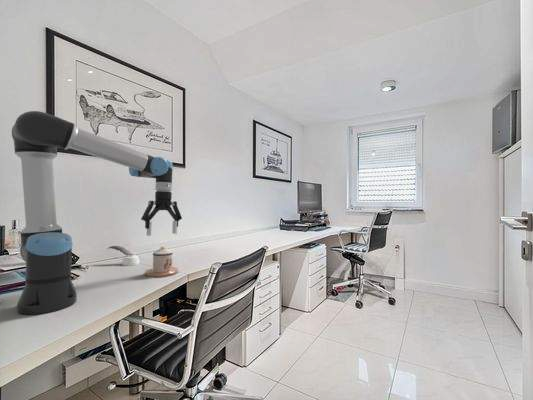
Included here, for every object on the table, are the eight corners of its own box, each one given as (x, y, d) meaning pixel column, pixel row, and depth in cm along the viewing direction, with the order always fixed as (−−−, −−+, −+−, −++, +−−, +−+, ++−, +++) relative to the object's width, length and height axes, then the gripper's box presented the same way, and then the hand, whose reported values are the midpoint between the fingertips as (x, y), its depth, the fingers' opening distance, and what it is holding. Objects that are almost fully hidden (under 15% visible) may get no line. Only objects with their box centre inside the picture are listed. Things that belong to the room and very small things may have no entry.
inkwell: (135, 265, 143) (135, 247, 143) (101, 265, 142) (101, 247, 142) (142, 262, 152) (142, 244, 152) (110, 261, 152) (111, 244, 152)
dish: (155, 279, 118) (155, 276, 119) (139, 273, 128) (139, 270, 128) (184, 272, 130) (184, 270, 130) (167, 267, 140) (167, 265, 140)
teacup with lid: (167, 273, 124) (167, 248, 124) (148, 272, 124) (149, 248, 125) (177, 267, 135) (178, 244, 136) (160, 266, 136) (161, 244, 136)
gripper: (142, 189, 117) (140, 237, 117) (189, 192, 137) (188, 233, 137) (134, 189, 122) (132, 235, 121) (181, 192, 142) (179, 232, 141)
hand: (162, 234), depth 129 cm, fingers open, 13 cm apart
